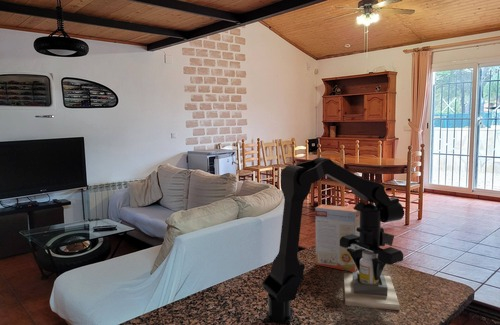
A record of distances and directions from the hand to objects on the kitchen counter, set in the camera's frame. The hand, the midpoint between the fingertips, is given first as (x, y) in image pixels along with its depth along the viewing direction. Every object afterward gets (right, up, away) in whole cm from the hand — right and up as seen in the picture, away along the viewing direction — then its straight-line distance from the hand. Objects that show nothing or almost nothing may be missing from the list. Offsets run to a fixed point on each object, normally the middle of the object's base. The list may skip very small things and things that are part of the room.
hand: (368, 276), depth 109 cm
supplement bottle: (0, -3, 0) cm, 3 cm away
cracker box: (-5, -3, +20) cm, 21 cm away
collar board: (0, -5, +1) cm, 5 cm away
